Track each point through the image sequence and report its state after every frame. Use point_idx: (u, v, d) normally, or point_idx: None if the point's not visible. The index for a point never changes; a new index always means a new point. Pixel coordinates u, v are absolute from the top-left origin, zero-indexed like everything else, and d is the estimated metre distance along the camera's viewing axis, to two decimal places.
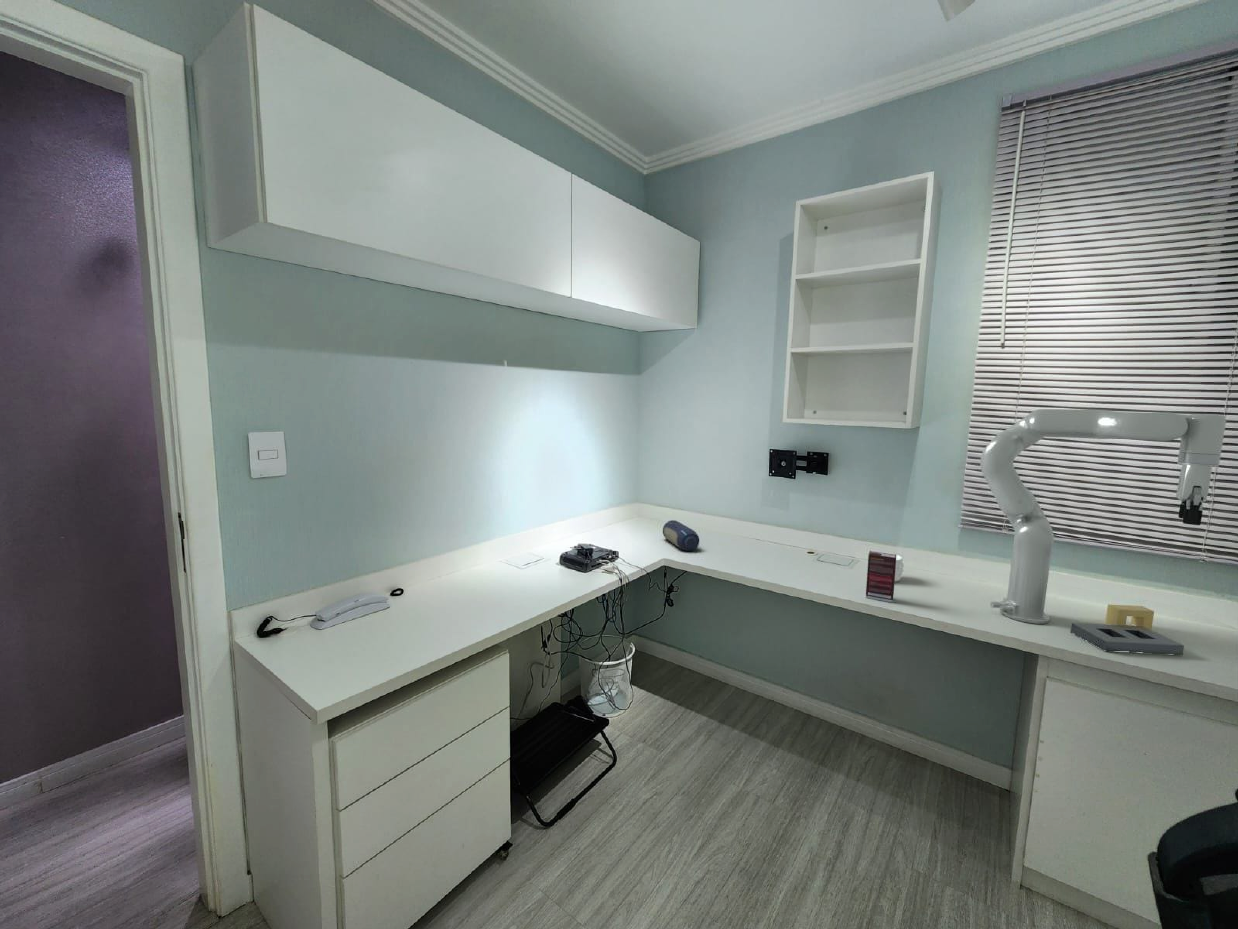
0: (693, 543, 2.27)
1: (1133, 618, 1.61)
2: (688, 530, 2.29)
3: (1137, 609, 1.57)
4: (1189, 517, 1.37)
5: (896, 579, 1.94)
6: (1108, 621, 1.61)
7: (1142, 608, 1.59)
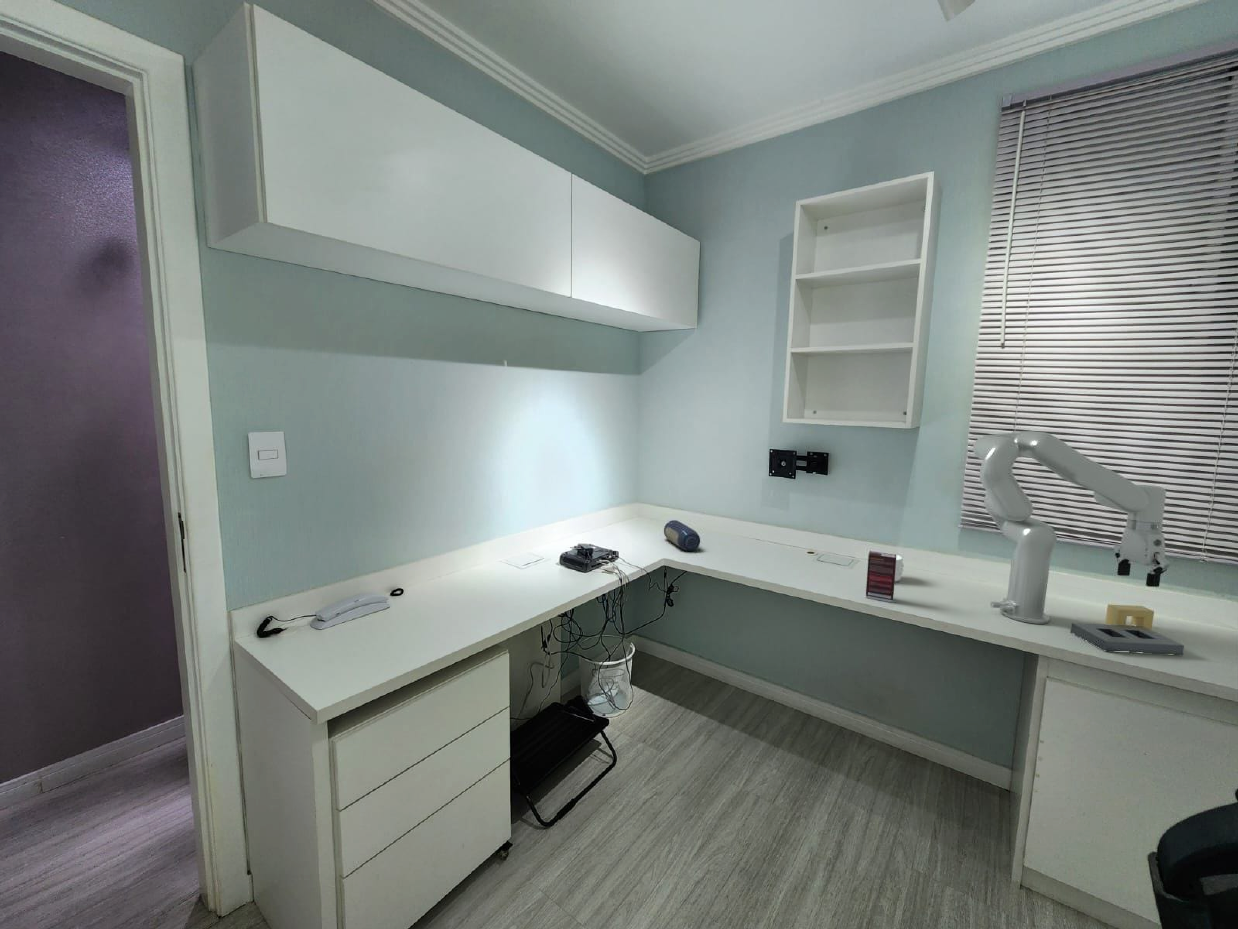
0: (693, 543, 2.27)
1: (1133, 618, 1.61)
2: (689, 530, 2.29)
3: (1137, 609, 1.57)
4: None
5: (896, 579, 1.94)
6: (1108, 621, 1.61)
7: (1142, 608, 1.59)
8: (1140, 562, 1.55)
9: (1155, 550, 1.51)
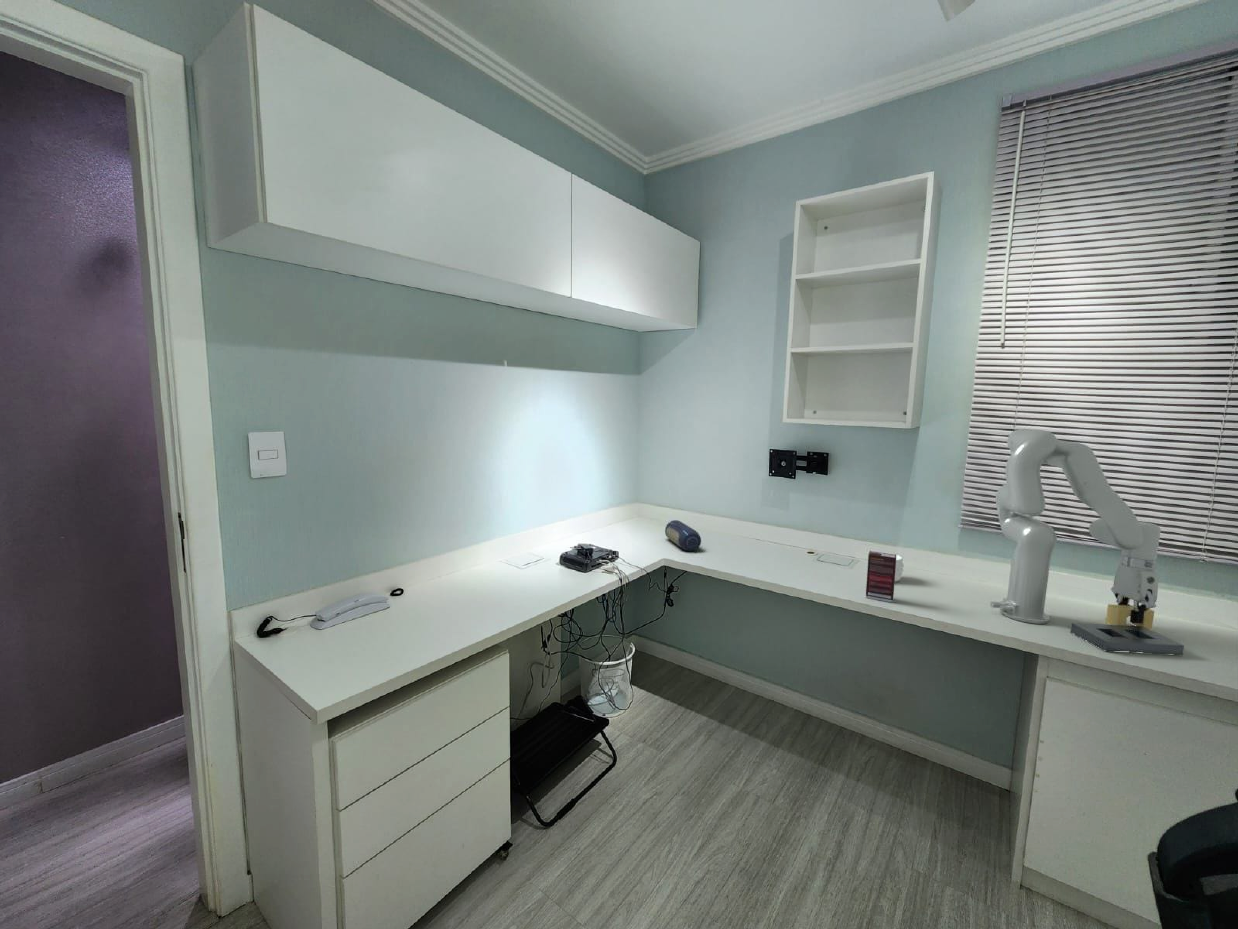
0: (694, 543, 2.27)
1: None
2: (690, 530, 2.29)
3: None
4: None
5: (896, 579, 1.94)
6: (1108, 621, 1.61)
7: None
8: (1133, 598, 1.56)
9: (1148, 587, 1.53)
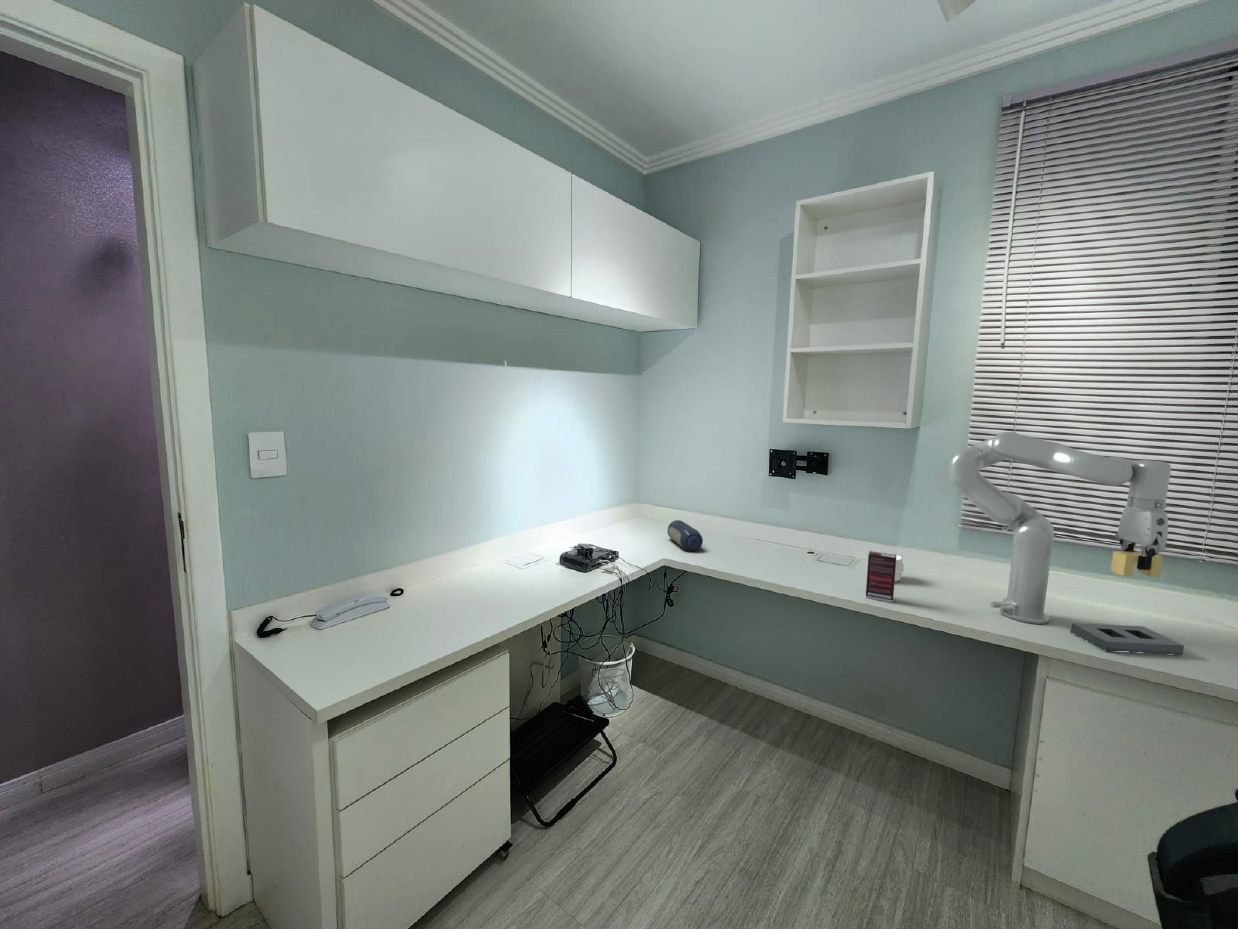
0: (696, 543, 2.27)
1: None
2: (691, 530, 2.29)
3: None
4: None
5: (896, 579, 1.94)
6: (1114, 569, 1.49)
7: None
8: (1141, 542, 1.44)
9: (1158, 529, 1.41)
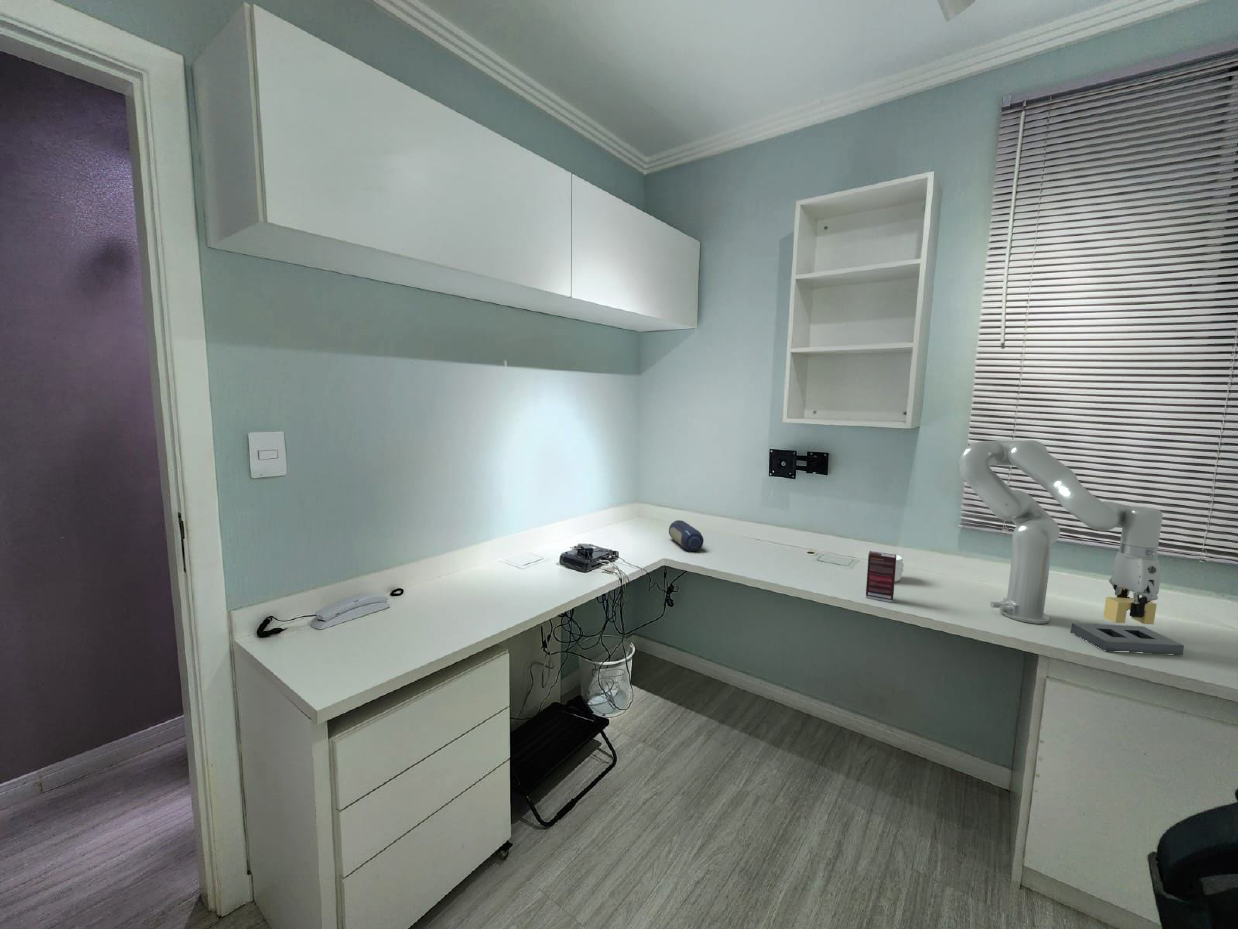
0: (697, 543, 2.27)
1: None
2: (692, 530, 2.29)
3: None
4: None
5: (896, 579, 1.94)
6: (1106, 615, 1.48)
7: None
8: (1133, 590, 1.43)
9: (1149, 577, 1.40)
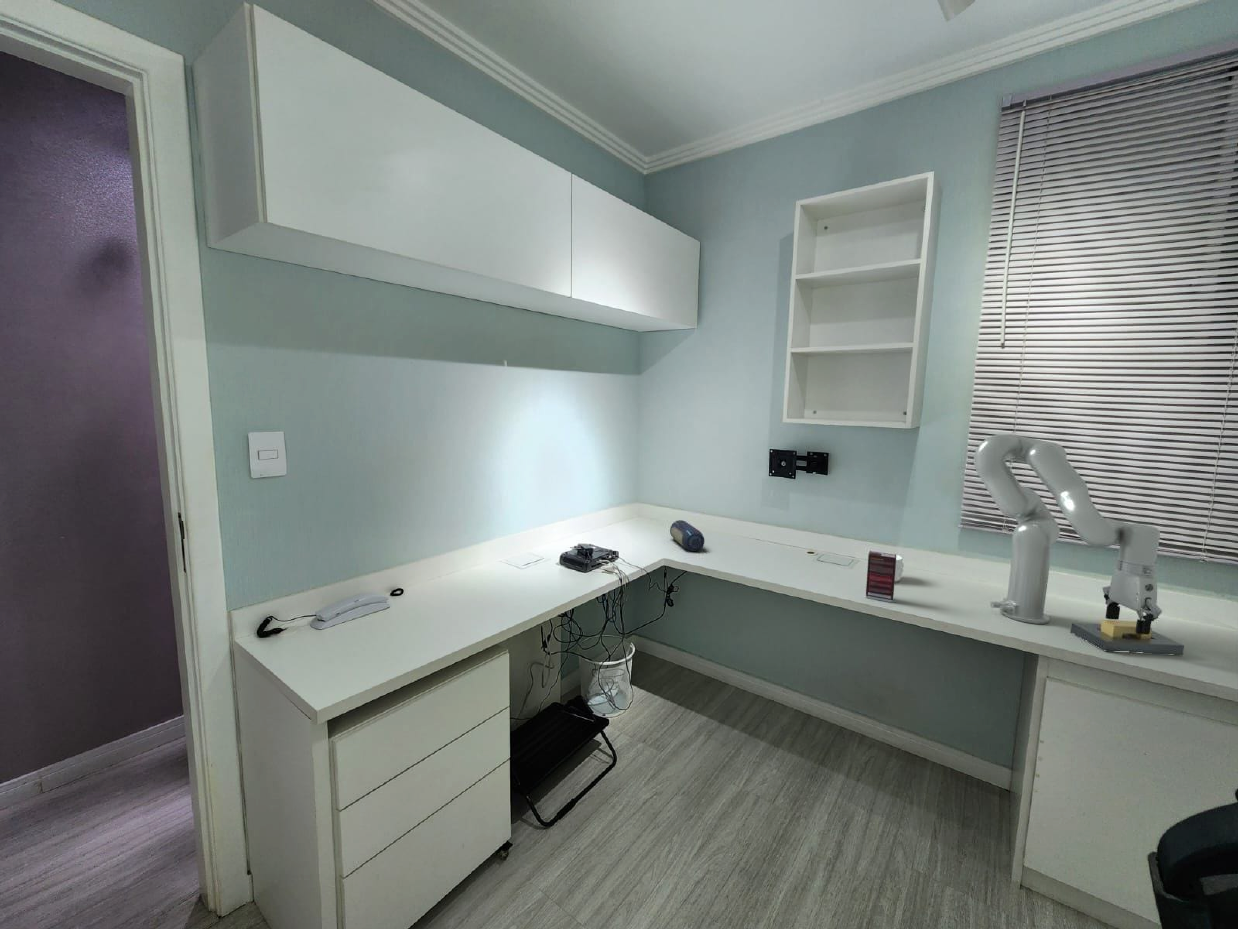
0: (697, 543, 2.27)
1: None
2: (693, 530, 2.29)
3: (1133, 626, 1.46)
4: None
5: (896, 579, 1.94)
6: None
7: None
8: (1130, 607, 1.44)
9: (1147, 595, 1.41)
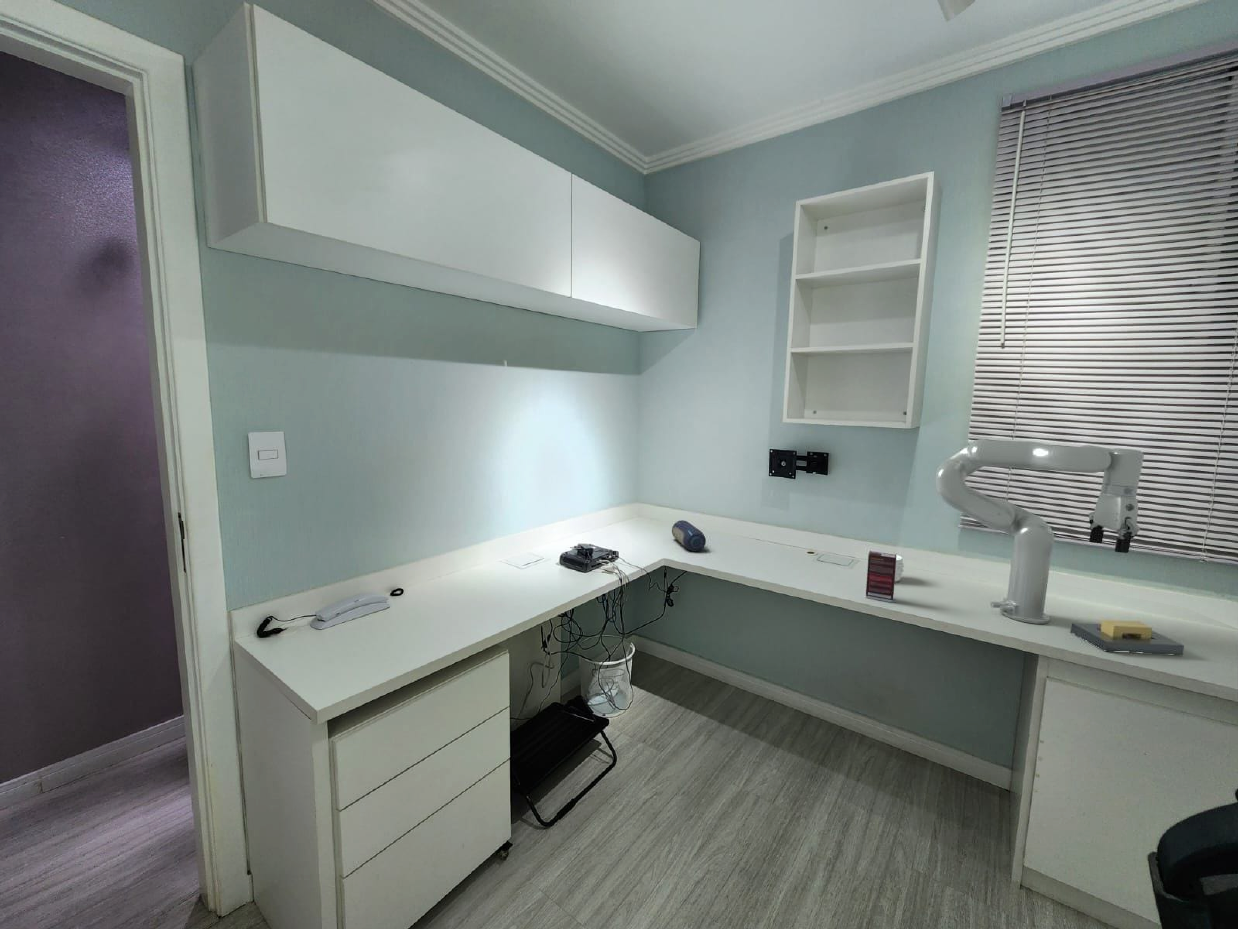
0: (699, 543, 2.27)
1: None
2: (694, 530, 2.29)
3: (1133, 626, 1.46)
4: None
5: (896, 579, 1.94)
6: None
7: (1139, 624, 1.47)
8: (1111, 527, 1.50)
9: (1127, 514, 1.47)
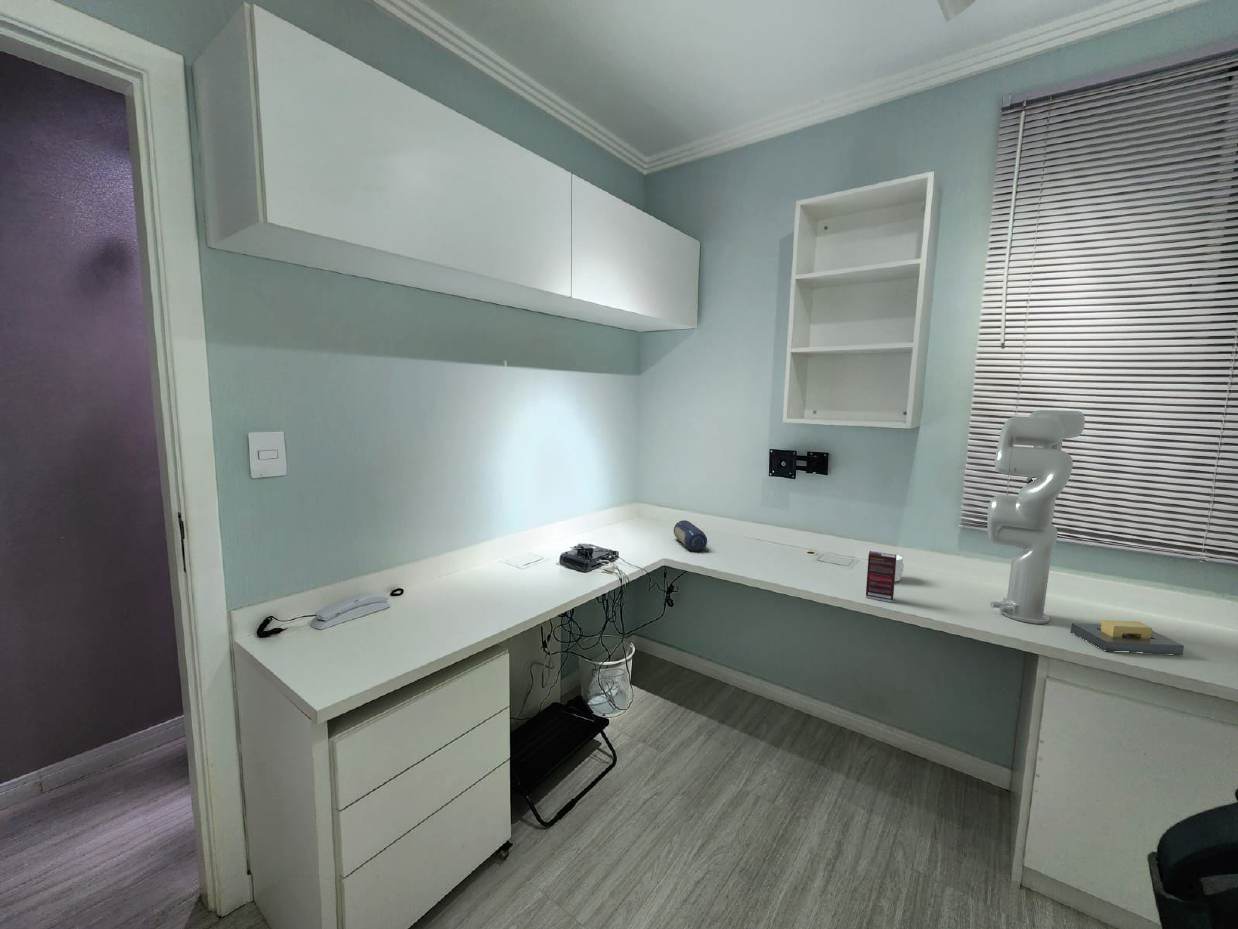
0: (700, 543, 2.27)
1: None
2: (696, 530, 2.29)
3: (1133, 626, 1.46)
4: None
5: (896, 579, 1.94)
6: None
7: (1139, 624, 1.47)
8: None
9: None
